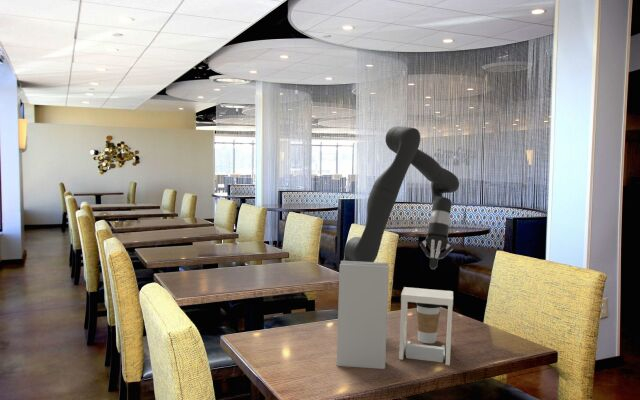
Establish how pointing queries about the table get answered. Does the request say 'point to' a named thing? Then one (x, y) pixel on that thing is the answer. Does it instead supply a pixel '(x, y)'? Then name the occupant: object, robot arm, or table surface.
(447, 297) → the white rectangular frame
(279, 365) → the table surface
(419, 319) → the coffee cup
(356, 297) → the tall white box
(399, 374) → the table surface
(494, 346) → the table surface
